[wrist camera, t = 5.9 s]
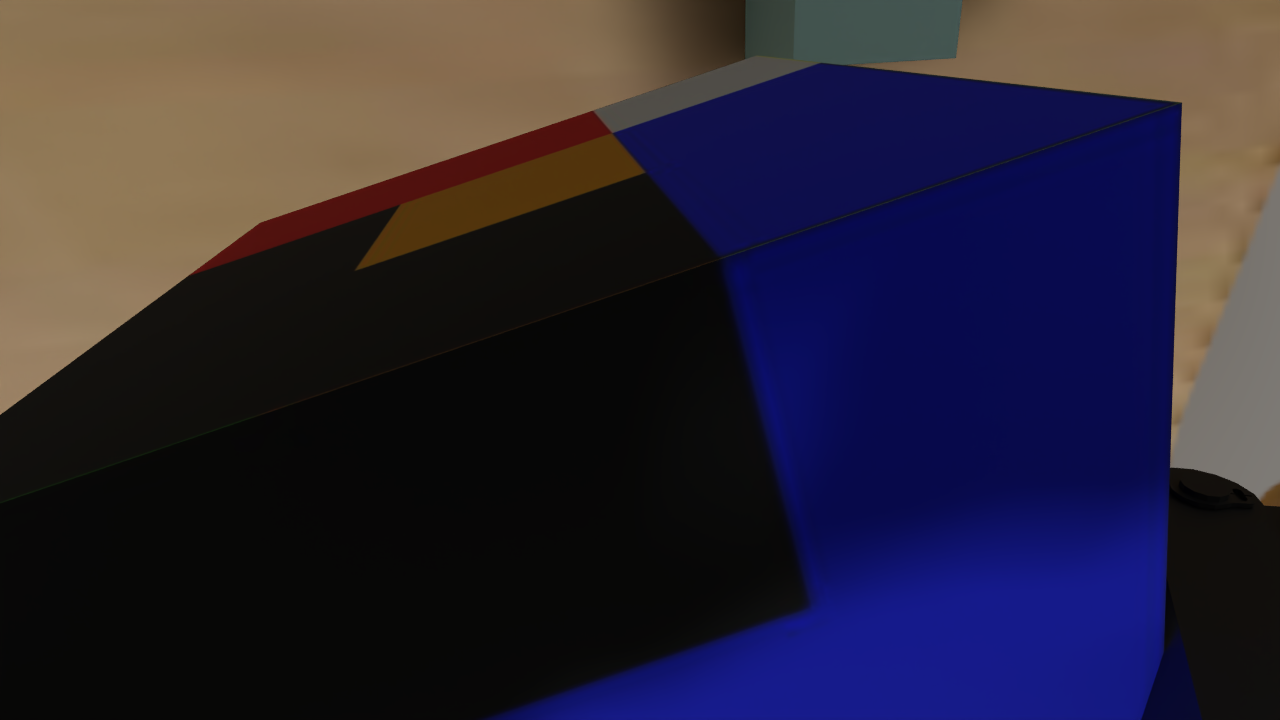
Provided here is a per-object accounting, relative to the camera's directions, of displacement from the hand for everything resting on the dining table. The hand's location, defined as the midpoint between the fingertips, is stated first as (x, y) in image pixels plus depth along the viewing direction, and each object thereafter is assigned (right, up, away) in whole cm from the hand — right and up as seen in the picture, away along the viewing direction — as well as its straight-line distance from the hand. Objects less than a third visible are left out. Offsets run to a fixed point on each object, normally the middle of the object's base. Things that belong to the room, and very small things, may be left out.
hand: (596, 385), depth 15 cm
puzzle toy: (0, +1, +1) cm, 1 cm away
